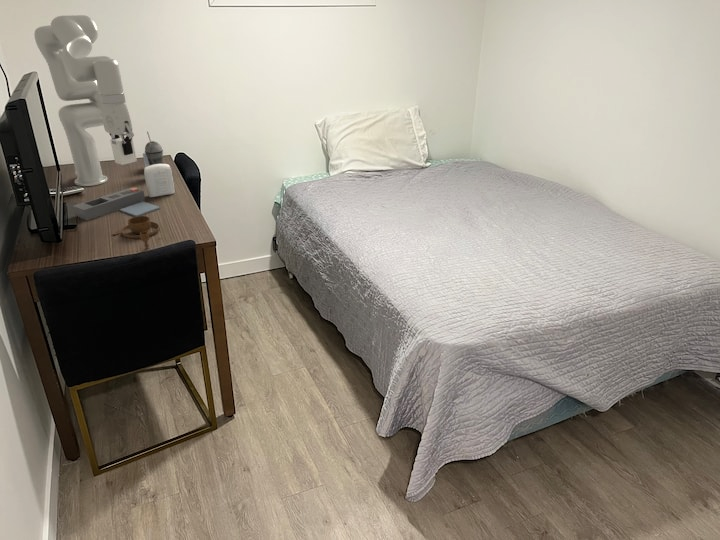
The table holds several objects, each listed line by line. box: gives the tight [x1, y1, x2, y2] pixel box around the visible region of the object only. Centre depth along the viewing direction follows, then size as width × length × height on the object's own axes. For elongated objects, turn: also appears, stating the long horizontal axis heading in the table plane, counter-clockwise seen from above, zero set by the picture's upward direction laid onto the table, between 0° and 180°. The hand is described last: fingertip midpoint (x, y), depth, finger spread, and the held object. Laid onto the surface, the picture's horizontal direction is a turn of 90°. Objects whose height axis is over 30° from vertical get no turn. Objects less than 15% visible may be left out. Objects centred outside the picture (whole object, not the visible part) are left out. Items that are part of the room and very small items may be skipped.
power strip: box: [72, 186, 146, 221], centre depth 191 cm, size 7×24×4 cm, turn 146°
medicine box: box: [142, 151, 150, 168], centre depth 232 cm, size 8×4×9 cm, turn 179°
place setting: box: [112, 215, 163, 250], centre depth 169 cm, size 18×20×6 cm
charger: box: [109, 138, 138, 166], centre depth 180 cm, size 4×6×8 cm
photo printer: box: [143, 163, 176, 198], centre depth 202 cm, size 10×4×12 cm, turn 123°
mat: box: [119, 201, 161, 217], centre depth 191 cm, size 10×10×1 cm
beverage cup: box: [144, 131, 164, 165], centre depth 219 cm, size 7×7×20 cm
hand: (124, 152), depth 180 cm, fingers closed on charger, 4 cm apart
